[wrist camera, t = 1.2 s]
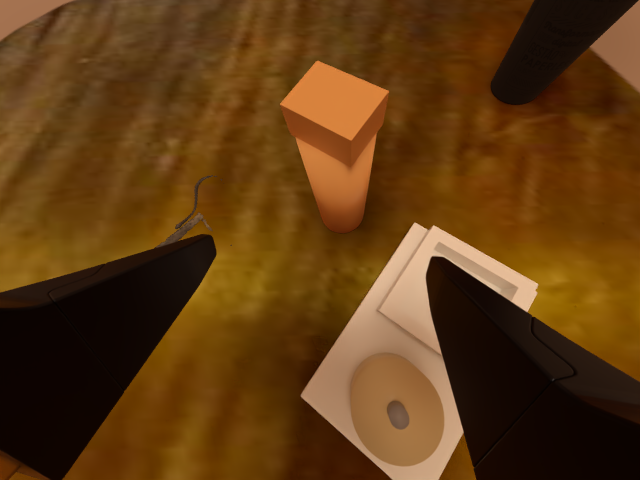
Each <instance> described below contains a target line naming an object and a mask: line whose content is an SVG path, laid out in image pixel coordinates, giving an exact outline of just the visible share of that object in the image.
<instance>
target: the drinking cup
mask: <svg viewBox="0 0 640 480" xmlns="http://www.w3.org/2000/svg"><path fill="white" fill-rule="evenodd" d="M637 1H638V0H534V2H533V4H532V6H531V8H530V10H529V12H528V13H527V15H526V17H525V19H524V21H523V23H522V25H521V27H520V29H519V30H518V32H517V34H516V36H515V38H514V40H513V42H512V44H511V46H510V48H509V49H508V51H507V53H506V55H505V57H504V59H503V61H502V63H501V65H500V66H499V68H498V70H497V72H496V74H495V76H494V78H493V80H492V82H491V90H492V92H493V94H494V95H495V96H496V97H497V98H498V99H499V100H501V101H503V102H505V103H508V104H524V103H528V102H530V101H532V100H533V99H535V98H536V97H537V96H538V95H539V94H540V93H541V92H542V91H543V90H544V89H545V88H546V87H547V86H548V85H549V84H550V83H552V82H553V81H554V80H555V79H556V78H557V77H558V76H559V75H560V74H561V73H562V72H563V71H564V70H565V69H566V68H567V67H568V66H570V65H571V64H572V63H573V62H574V61H575V60H576V59H577V58H578V57H579V56H580V55H581V54H582V53H583V52H584V51H585V50H587V49H588V48H589V47H590V46H591V45H592V44H593V43H594V42H595V41H596V40H597V39H598V38H599V37H600V36H601V35H602V34H603V33H605V31H607V30H608V29H609V28H610V27H611V26H612V25H613V24H614V23H615V22H616V21H617V20H618V19H619V18H620V17H621V16H623V15H624V13H626V12H627V11H628V10H629V9H630V8H631V7H632V6H633V5H634V4H635V3H636V2H637Z"/></svg>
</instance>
